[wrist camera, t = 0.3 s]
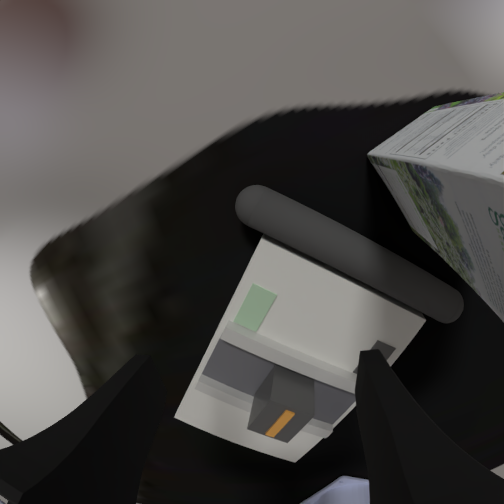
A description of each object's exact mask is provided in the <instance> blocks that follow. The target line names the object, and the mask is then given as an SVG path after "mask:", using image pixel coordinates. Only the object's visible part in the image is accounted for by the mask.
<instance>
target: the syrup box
mask: <svg viewBox="0 0 504 504" xmlns="http://www.w3.org/2000/svg"><path fill="white" fill-rule="evenodd" d="M367 157H368V159H369V160H370V162H371V163H372V165H373V166H374V168H375V169H376V171H377V172H378V174H379V175H380V177H381V178H382V180H383V182H384V183H385V185H386V186H387V188H388V189H389V191H390V193H391V194H392V196H393V198H394V199H395V201H396V203H397V204H398V206H399V208H400V209H401V211H402V213H403V215H404V216H405V218H406V220H407V222H408V224H409V225H410V227H411V229H412V231H413V232H414V233H415V234H417V235H418V236H419V237H420V238H421V239H422V240H423V241H424V242H425V243H427V245H429V246H430V247H431V248H432V249H433V250H434V251H435V252H437V254H438V255H439V256H441V257H442V258H443V259H444V260H445V261H446V262H447V263H448V264H449V265H450V266H451V267H452V268H453V269H454V270H455V271H456V272H457V273H458V274H459V275H460V276H461V277H462V278H463V279H464V280H465V281H466V282H467V283H468V284H469V285H470V286H471V287H472V288H473V289H474V290H475V292H476V293H477V294H478V295H479V296H480V297H481V298H482V299H483V300H484V301H485V302H486V303H487V304H488V305H489V306H490V307H491V308H492V310H493V311H494V312H495V313H496V314H497V315H498V316H499V317H500V319H501V320H502V321H503V322H504V93H498V94H493V95H488V96H483V97H478V98H473V99H468V100H463V101H458V102H453V103H449V104H444V105H440V106H435V107H433V108H432V109H430V110H429V111H427V112H426V113H424V114H423V115H421V116H420V117H419V118H417V119H416V120H414V121H413V122H412V123H410V124H409V125H407V126H406V127H405V128H403V129H402V130H400V131H399V132H397V133H396V134H395V135H393V136H392V137H390V138H389V139H387V140H386V141H384V142H383V143H382V144H380V145H379V146H377V147H376V148H374V149H373V150H372V151H370V152H369V153H368V154H367Z"/></svg>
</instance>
